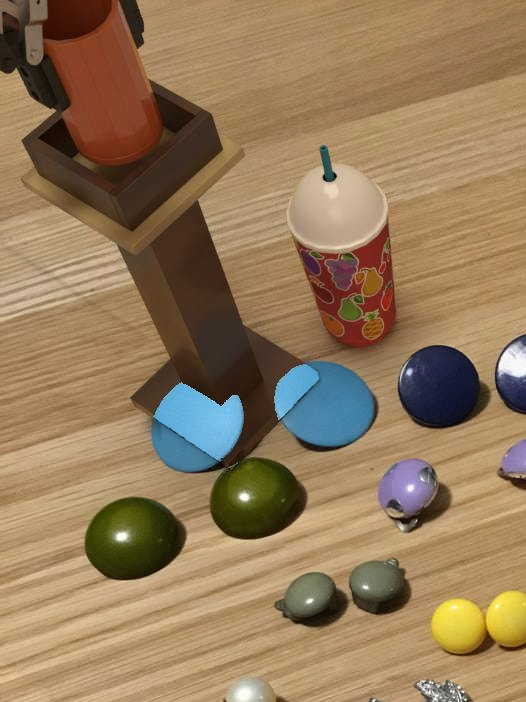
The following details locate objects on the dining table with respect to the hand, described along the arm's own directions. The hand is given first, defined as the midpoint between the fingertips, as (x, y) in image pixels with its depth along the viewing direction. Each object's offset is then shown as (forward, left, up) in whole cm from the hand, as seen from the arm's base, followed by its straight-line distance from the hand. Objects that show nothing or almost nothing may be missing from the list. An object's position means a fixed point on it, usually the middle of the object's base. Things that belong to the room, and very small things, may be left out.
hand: (93, 73), depth 71 cm
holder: (0, 0, -33) cm, 33 cm away
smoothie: (+5, +13, -33) cm, 36 cm away
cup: (0, 0, -5) cm, 5 cm away
